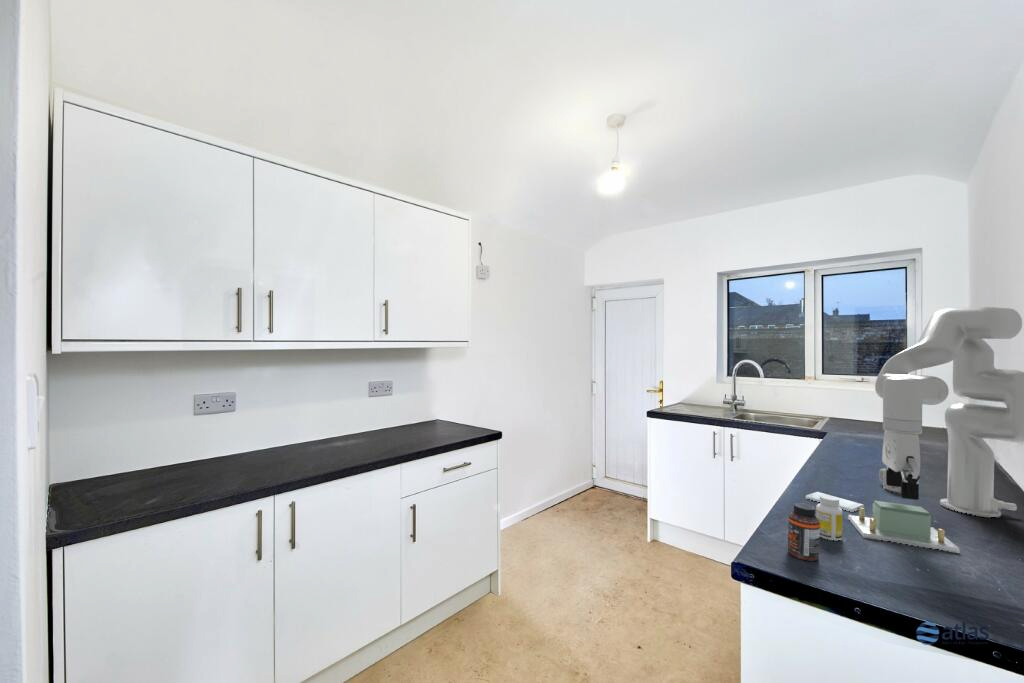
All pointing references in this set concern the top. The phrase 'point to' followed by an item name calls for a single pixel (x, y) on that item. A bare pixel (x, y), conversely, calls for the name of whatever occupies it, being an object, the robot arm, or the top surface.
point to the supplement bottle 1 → (803, 532)
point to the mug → (883, 480)
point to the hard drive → (843, 503)
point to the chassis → (872, 532)
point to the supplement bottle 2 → (830, 518)
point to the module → (902, 518)
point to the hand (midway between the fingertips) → (901, 491)
